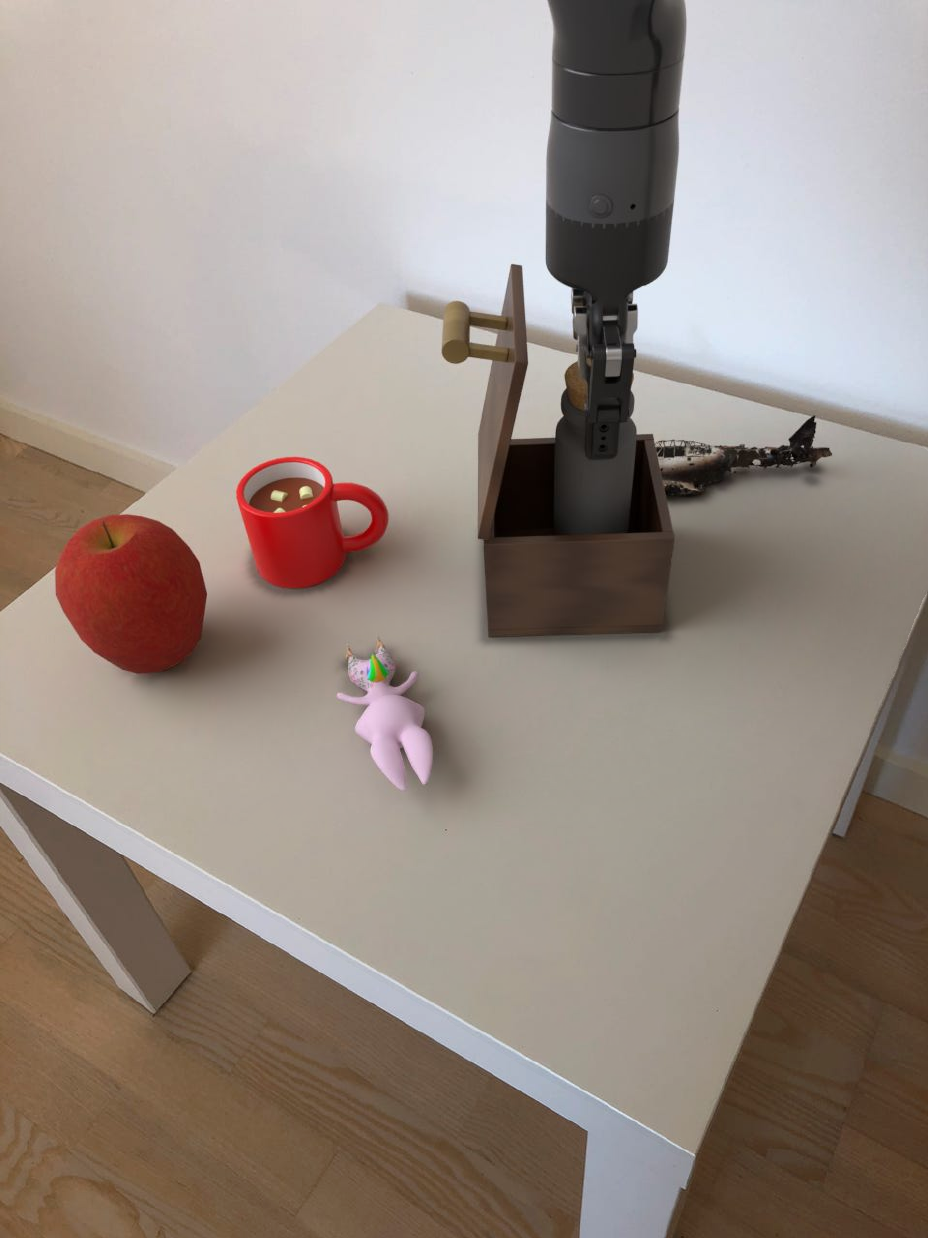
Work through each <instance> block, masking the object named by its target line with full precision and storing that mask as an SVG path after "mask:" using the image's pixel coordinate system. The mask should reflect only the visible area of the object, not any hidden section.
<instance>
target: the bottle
mask: <svg viewBox="0 0 928 1238" xmlns="http://www.w3.org/2000/svg"><path fill="white" fill-rule="evenodd" d="M587 363H588V365H590V366H591V360H590V358H587ZM563 375H564V382H565V387H566V388H565V389H564V390H563V391H562V394H561V397H560V410H561V414H562V417H561V418H560V419H559V420H558V422H557V423H556V426H555V433H554V438H555V463H554V536H558V535H589V534H620V533H628V526H629V516H630V506H631V495H632V484H633V474H634V462H635V450H636V439H637V434H638V431H637V425H636V424H635V422H634V420H633V419H632V418H631V417H632V415H633V414H634V410H635V402H636V401H635V394H634V393H633V392H632V390H631V393H630V401H629V417H628V418H627V422H620V428H619V441H618V453H617V456H616V457H615V458H613V459H600V460H590V459H588V458H587V457H586V455H585V429H586V411H584V403H585V381H584V380H582V379H581V378H580V376H579V374H578V360H577V361H575V362H573V363H572V364H570V365H568V367H567V368H566V370H565V373H564V374H563ZM634 375H635V374H634V373H633V376H632V384H631V387H632V386H633V384H634V381H635V380H634V379H635V376H634Z"/></svg>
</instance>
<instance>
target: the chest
mask: <svg viewBox="0 0 928 1238" xmlns="http://www.w3.org/2000/svg"><path fill="white" fill-rule="evenodd" d="M655 443H656V441H655V436H654V433H641V434H638V433H637V439H636V450H635V462H634V474H633V484H632V495H631V506H630V516H629V526H628V533H620V534H589V535H558V536H554V463H555V437H533V438H531V437H530V438H511V442H510V447H509V451H508V455H507V460H506V464H505V469H504V473H503V478H502V482H501V487H500V491H499V495H498V500H497V504H496V509H495V513H494V518H493V522H492V527H491V531H490V536H489V539H488V540H482V548H483V567H484V583H485V602H486V604H485V605H486V619H487V620H486V621H487V623H486V624H487V636H488V637H489V638H493V637H496V638H497V637H501V638H502V637H531V636H532V637H533V636H567V635H569V636H570V635H571V636H572V635H603V634H605V635H606V634H608V635H609V634H640V633H641V634H642V633H643V634H645V633H663V626H664V625H663V624H664V618H665V616H664V615H665V610H666V603H667V597H668V589H669V584H670V575H671V570H672V569H671V568H672V561H673V556H674V555H673V554H674V547H675V540H676V537H675V533H674V527H673V524H672V519H671V518H672V517H671V514H670V508H669V504H668V499H667V494H665V490H664V485H663V480H662V475H661V470H660V466H659V461H658V456H657V451H656V447H657V446H656V445H655Z"/></svg>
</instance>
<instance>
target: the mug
mask: <svg viewBox="0 0 928 1238" xmlns="http://www.w3.org/2000/svg"><path fill="white" fill-rule="evenodd" d="M235 496H236V497H235V498H236V502H237V506H238V508H239V512H240V515H241V519H242V522H243V525H244V529H245V532H246V536H247V540H248V543H249V547H250V549H251V552H252V556H253V560H254V563H255V567H256V570H257V572H258V574H259V575H260V577H261V578H262V579H263V580H265V581H266V582H268V583H269V584H271V585H273V586H276V587H278V588H279V587H280V588H284V589H304V588H309V587H312V586H315V585H318V584H321V583H323V582H325V581H327V580H328V579H330V578H331V577H333V576H334V575H335V574H336V573H338V571H340V569H341V568H342V566H343V565H344V563H345V560H346V558H347V553H354V552H355V553H356V552H360V551H363V550H366V549H368V548H371V547H372V546H374V545H375V544H377V543H378V542H379V541H380V540H381V539H382V537H383V536H384V535H385V533H386V531H387V528H388V526H389V519H390V518H389V517H390V516H389V515H390V514H389V510H388V507H387V505H386V503H385V502H384V500H383V498H382V497H381V496H380V495H379V494H378V493H377V492H375V491H374V490H372V489H371V488H369V487H368V486H365V485H362V484H359V483H354V482H336V483H334V480H333V476H332V474H331V472H330V471H329V469H328V468H327V467H326V466H325V465H324V464H322V463H320V462H319V461H317V460H314V459H312V458H309V457H308V458H307V457H303V456H302V457H301V456H284V457H278V458H274V459H271V460H267V461H264V462H262V463H260V464H258V465H256V466H254V467H253V468H252V469H250V470H249V471H248V472H246V473H245V474H244V476H242V478H241V479H240V480H239V482H238V484H237V486H236V490H235ZM339 501H351V502H356V503H359V504H360V505H362V506H363V507H365V508H366V509H367V510H368V511H369V513H370V516H371V521H370V524H369V525H368V526H367V528H365V530H362V531H361V532H359V533H356V534H352V535H344V532H343V531H344V530H343V526H342V520H341V515H340V512H339V506H338V502H339Z"/></svg>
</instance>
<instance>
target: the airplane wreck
mask: <svg viewBox="0 0 928 1238" xmlns="http://www.w3.org/2000/svg"><path fill="white" fill-rule="evenodd" d="M815 420H816V414H814V415H812V416H811V417H810V418H807V420H806V421H805V422H804V423H802V424H801V426H800V427H799V428H798V429H797V430H796V431H795V432H794V433H793V434H792V435H790V437H789V438H788V439H787V440H788V442H789V445H788V444H787V445H785V444H782V445H780V446H779V447H777V446H764V447H759V448H758V447H757V446H752V447H746V444H744V443H740V444H739V445H721V444H720V445H712V444H706V443H703V442H698V441H694V440H685V439H680V440H677V442H678V443H679V442H680V445H676V439H669V440H657V441H655V447H656V451H657V456H658V461H659V466H660V470H661V475H662V480H663V485H664V490H665V494H666V495H668V496H674V497H677V496H698V495H699V496H702V495H701V493H703V492H705V491H706V490H707V489H706V487H705V486H708V485H709V484H715V483H716V482H717V483H720V482H723V481H724V480H725V476H726V474H727V472H728V473H729V475H732V472H733V473H734V474H736V473H737V472H738V470H734V471H733V470H732V469H733V468H734V469H735V468H742V469H743V468H748V469H751V467H756V468H757V467H760V468H763V470H767V468H769V467H770V468H771V467H774V466H775V468H776V469H781V466H783V467H790V468H793V467H794V465H795V466H796V465H799V464H803V463H804V464H805V463H809V468H814V467H815V466H817V462H818V461H819V460H820V459H821V458H828V457H829V458H830V457H833V452H831V450H830V447H828V446H827V447H826V446H823V447H814V446H813V444H814V443H813V442H814V439H815V438H816V436H815V434H816V432H817V430H816V428H817V421H815ZM667 442H670V444H669V445H666V444H665V443H667ZM662 444H663V445H662ZM672 444H673V445H672ZM683 444H684V445H683ZM692 444H693V445H692ZM755 460H756V461H757V460H758V461H759V462H760V464H755V463H754V461H755Z"/></svg>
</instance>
